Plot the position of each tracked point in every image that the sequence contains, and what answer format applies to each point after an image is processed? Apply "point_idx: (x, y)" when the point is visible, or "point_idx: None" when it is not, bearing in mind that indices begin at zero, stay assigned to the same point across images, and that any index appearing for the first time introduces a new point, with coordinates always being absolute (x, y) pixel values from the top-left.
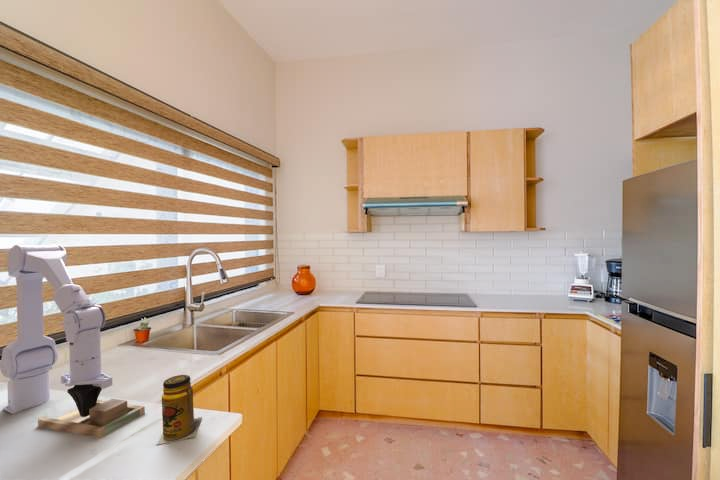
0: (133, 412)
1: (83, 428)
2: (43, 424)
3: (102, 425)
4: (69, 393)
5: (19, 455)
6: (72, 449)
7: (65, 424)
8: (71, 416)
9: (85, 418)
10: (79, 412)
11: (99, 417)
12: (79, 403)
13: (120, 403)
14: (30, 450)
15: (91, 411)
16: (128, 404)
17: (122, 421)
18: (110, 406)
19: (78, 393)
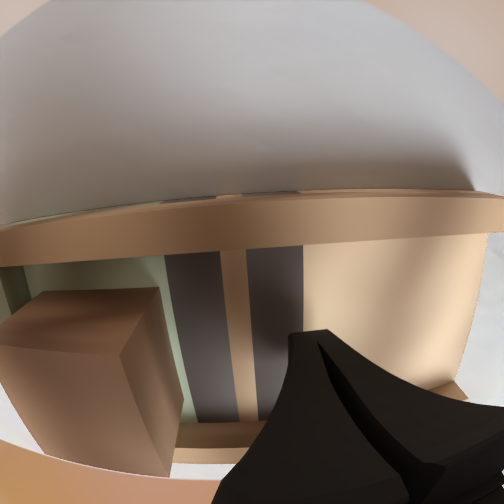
0: None
1: (65, 221)
2: (469, 194)
3: (50, 298)
4: (483, 413)
5: (291, 4)
6: (59, 134)
7: (270, 204)
8: (425, 317)
9: None
10: (337, 339)
11: (45, 320)
12: (346, 386)
13: (32, 430)
14: (291, 40)
15: (103, 344)
16: None
17: None
18: (33, 401)
19: (286, 487)
